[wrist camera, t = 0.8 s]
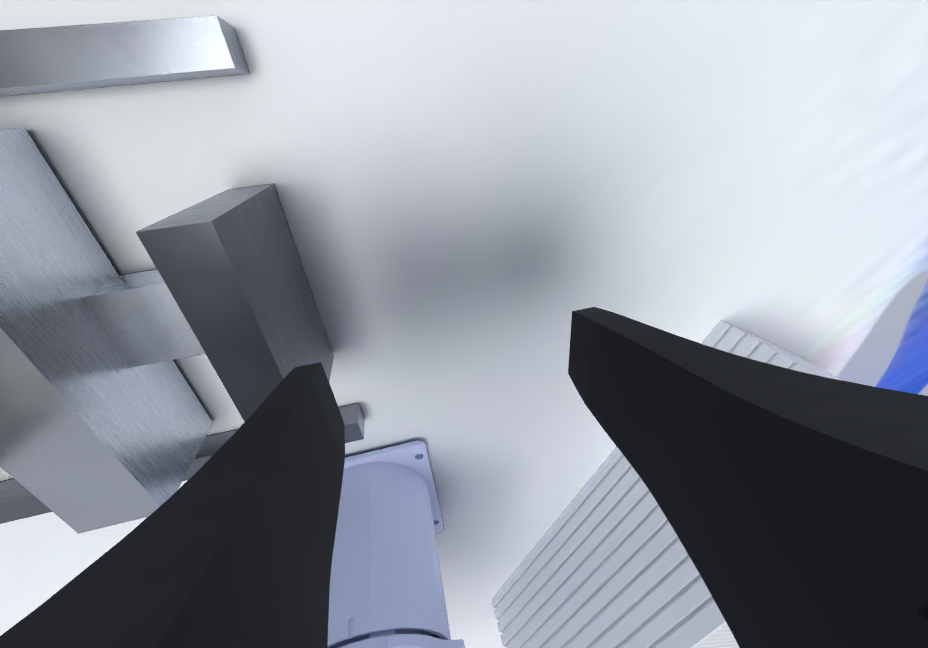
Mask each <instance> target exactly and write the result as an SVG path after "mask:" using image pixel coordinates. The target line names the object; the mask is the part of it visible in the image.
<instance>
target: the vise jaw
mask: <svg viewBox="0 0 928 648" xmlns="http://www.w3.org/2000/svg"><path fill="white" fill-rule="evenodd" d="M136 233H137V235H138V237H139V238H140V240H141V242H142V244H143V245H144V247H145V249H146V250H147V252H148V254H149V256H150V257H151V259H152V261H153V263H154V264H155V266H156V268H157V270H151V271H145V272H138V273H132V274H125V275H118V273H117V272H116V270H115V269H114V267H113V266H112V264H111V262H110V261H109V259H108V258H107V256H106V255H105V253H104V251H103V250H102V248H101V247H100V245H99V244H98V242H97V240H96V239H95V237H94V236H93V234H92V233H91V231H90V230H89V228H88V226H87V225H86V223H85V222H84V220H83V219H82V217H81V215H80V214H79V212H78V211H77V209H76V208H75V206H74V204H73V203H72V201H71V200H70V198H69V197H68V195H67V193H66V192H65V190H64V189H63V187H62V186H61V184H60V183H59V181H58V179H57V178H56V176H55V175H54V173H53V172H52V170H51V168H50V167H49V165H48V164H47V162H46V161H45V159H44V157H43V156H42V154H41V153H40V151H39V150H38V148H37V146H36V145H35V143H34V142H33V140H32V139H31V137H30V136H29V134H28V132H27V131H26V129H0V467H2V468H3V469H4V470H5V471H6V472H7V473H9V474H10V475H11V476H12V477H13V478H14V479H15V480H17V481H18V482H19V483H20V484H21V485H22V486H24V487H25V488H26V489H27V490H28V491H29V492H31V493H32V494H33V495H34V496H35V497H36V498H38V499H39V500H40V501H41V502H42V503H43V504H45V505H46V506H47V507H48V508H49V509H50V510H52V511H53V512H54V513H55V514H56V515H57V516H59V517H60V518H61V519H62V520H63V521H64V522H66V523H67V524H68V525H69V526H70V527H71V528H73V529H74V530H75V531H76V532H77V533H78V534H79V533H83V532H87V531H91V530H95V529H99V528H103V527H107V526H111V525H116V524H120V523H124V522H128V521H132V520H136V519H140V518H144V517H148V516H150V515H151V514H152V513H153V512H154V511H155V510H156V509H158V508H159V507H160V506H161V505H162V504H163V503H164V502H165V501H167V500H168V499H169V498H170V497H171V496H172V495H173V494H174V493H175V492H176V491H177V490H178V488H179V486H180V484H181V482H182V480H183V479H184V477H185V475H186V473H187V471H188V469H189V467H190V466H191V464H192V462H193V460H194V458H195V456H196V454H197V452H198V451H199V449H200V447H201V445H202V443H203V441H204V439H205V438H206V436H207V434H208V432H209V430H210V428H211V426H212V424H213V422H212V421H211V419H210V417H209V416H208V414H207V413H206V411H205V410H204V408H203V406H202V405H201V403H200V402H199V400H198V399H197V397H196V396H195V394H194V392H193V391H192V389H191V388H190V386H189V385H188V383H187V381H186V380H185V378H184V377H183V375H182V374H181V372H180V370H179V369H178V367H177V366H176V364H175V363H174V361H173V360H175V359H180V358H185V357H190V356H196V355H201V354H206V355H207V357H208V359H209V360H210V362H211V364H212V366H213V367H214V369H215V371H216V373H217V374H218V376H219V378H220V379H221V381H222V383H223V385H224V386H225V388H226V390H227V392H228V393H229V395H230V397H231V399H232V400H233V402H234V404H235V406H236V407H237V409H238V411H239V413H240V414H241V416H242V418H243V420H244V421H246V420H247V419H248V418H249V417H250V416H251V415H252V414H253V413H254V411H255V410H256V409H257V408H258V407H259V406H260V405H261V404H262V403H263V401H264V400H265V399H266V398H267V397H268V396H269V395H270V394H271V392H272V391H273V390H274V389H275V388H276V387H277V386H278V384H279V383H280V382H281V381H282V380H283V379H284V378H285V377H286V376H287V375H288V373H289V372H290V371H291V370H292V369H293V368H294V367H299V366H304V365H309V364H313V363H318V362H321V363H322V365H323V368H324V371H325V373H326V376H327V379H328V381H329V380H330V374H331V368H332V362H333V357H334V356H333V353H332V350H331V347H330V344H329V341H328V338H327V336H326V333H325V330H324V327H323V324H322V321H321V318H320V316H319V313H318V310H317V307H316V304H315V301H314V298H313V296H312V293H311V290H310V287H309V284H308V281H307V278H306V276H305V273H304V270H303V267H302V264H301V261H300V258H299V256H298V253H297V250H296V247H295V244H294V241H293V238H292V236H291V233H290V230H289V227H288V224H287V221H286V218H285V216H284V213H283V210H282V207H281V204H280V201H279V198H278V196H277V193H276V190H275V187H274V184H267V185H260V186H252V187H245V188H237V189H229V190H226V191H224V192H222V193H220V194H218V195H215V196H213V197H211V198H209V199H207V200H205V201H202V202H200V203H198V204H196V205H194V206H191V207H189V208H187V209H185V210H183V211H181V212H178V213H176V214H174V215H172V216H170V217H167V218H165V219H163V220H161V221H159V222H157V223H154V224H152V225H150V226H148V227H146V228H143V229H141V230H139V231H137V232H136Z"/></svg>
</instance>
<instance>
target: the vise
mask: <svg viewBox="0 0 928 648" xmlns="http://www.w3.org/2000/svg"><path fill="white" fill-rule="evenodd" d="M241 74H250V73H249V70H248V67H247V64H246V61H245V58H244V55H243V52H242V49H241V46H240V43H239V40H238V37H237V34H236V31H235V28H234V27H232V26H231V25H229V24H228V23H227V22H225V21H224V20H222V19H221V18H219V17H218V16H205V17H190V18H176V19H161V20H147V21H132V22H118V23H104V24H89V25H75V26H60V27H46V28H31V29H17V30H2V31H0V96H10V95H21V94H32V93H43V92H54V91H65V90H76V89H87V88H98V87H109V86H120V85H131V84H142V83H153V82H164V81H175V80H186V79H197V78H208V77H219V76H230V75H241ZM338 408H339V411H340V413H341V416H342V419H343V421H344V424H345V443H348V442H352V441H357V440H361V439H364V416H363V413H362V410H361V407H360V404H359V403H356V404H352V405H347V406H342V407H338ZM236 431H237V430H233V431H229V432H224V433H219V434H215V435H210V436H206V438H205V439H204V441H203V443H202V445H201V447H200V449H199V451H198V452H197V454H196V456H195V458H194V460H193V462H192V464H191V466H190V467H189V469H188V471H187V473H186V475H185V477H184V479H183V480H182V481H185V480H189V479H190V478H191V477H192V476H193V475H194V474H195V473H196V472H197V471H198V470H199V469H200V468H201V467H202V466H203V465H204V464H205V463H206V462H207V461H208V460H209V459H210V458H211V457H212V456H213V455H214V454H215V453H216V452H217V451H218V450H219V449H220V448H221V447H222V446H223V445H224V444H225V443H226V442H227V441H228V440H229V438H230V437H231V436H232V435H233V434H234V433H235V432H236ZM48 512H53V511H52V510H50V509H49V508H48V507H47V506H46V505H45V504H43V503H42V502H41V501H40V500H39V499H38V498H36V497H35V496H34V495H33V494H32V493H31V492H29V491H28V490H27V489H26V488H25V487H24V486H22V485H21V484H20V483H19V482H18V481H17V480H15V479H10V480H5V481H1V482H0V524H1V523H5V522H10V521H14V520H18V519H23V518H27V517H31V516H35V515H40V514H44V513H48Z"/></svg>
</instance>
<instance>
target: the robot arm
mask: <svg viewBox="0 0 928 648" xmlns="http://www.w3.org/2000/svg"><path fill="white" fill-rule="evenodd" d="M568 374H569V376H570V378H571V379H572V381H573V383H574V385H575V387H576V389H577V391H578V392H579V394H580V396H581V398H582V399H583V401H584V403H585V404H586V406H587V407H588V409H589V410H590V411H591V413H592V414H593V415H594V417H595V418H596V419H597V421H598V422H599V423H600V425H601V426H602V428H603V429H604V430H605V431H606V433H607V434H608V435H609V437H610V438H611V439H612V441H613V442H614V443H615V445H616V446H617V447H618V449H619V450H620V451H621V453H622V454H623V455H624V457H625V458H626V459H627V461H628V462H629V463H630V464H631V466H632V467H633V468H634V470H635V471H636V472H637V474H638V475H639V476H640V478H641V479H642V481H643V482H644V484H645V485H646V486H647V488H648V489H649V491H650V492H651V494H652V495H653V497H654V499H655V500H656V502H657V503H658V505H659V507H660V508H661V510H662V512H663V513H664V515H665V516H666V518H667V520H668V521H669V523H670V525H671V526H672V528H673V529H674V531H675V533H676V534H677V536H678V538H679V540H680V541H681V543H682V545H683V546H684V548H685V550H686V552H687V553H688V555H689V557H690V558H691V560H692V562H693V564H694V565H695V567H696V569H697V570H698V572H699V574H700V576H701V577H702V579H703V581H704V583H705V585H706V586H707V588H708V590H709V592H710V594H711V596H712V597H713V599H714V601H715V603H716V605H717V607H718V608H719V610H720V612H721V614H722V616H723V617H724V619H725V621H726V623H727V625H728V627H729V628H730V630H731V632H732V634H733V636H734V638H735V640H736V642H737V644H738V646H739V648H928V396H924V395H918V394H912V393H906V392H900V391H894V390H889V389H883V388H877V387H872V386H867V385H862V384H857V383H852V382H846V381H842V380H837V379H832V378H827V377H822V376H818V375H813V374H809V373H804V372H800V371H796V370H792V369H788V368H784V367H780V366H776V365H772V364H768V363H764V362H760V361H756V360H753V359H749V358H746V357H742V356H738V355H735V354H732V353H729V352H725V351H722V350H719V349H716V348H713V347H710V346H706V345H703V344H700V343H697V342H694V341H691V340H688V339H685V338H682V337H680V336H677V335H674V334H671V333H668V332H665V331H663V330H660V329H657V328H654V327H652V326H649V325H646V324H643V323H641V322H638V321H635V320H633V319H630V318H627V317H624V316H621V315H619V314H616V313H613V312H610V311H607V310H603V309H600V308H596V307H592V308H587V309H582V310H577V311H572V323H571V338H570V353H569V369H568ZM417 454H418V455H417ZM443 530H444V526H443V521H442V516H441V512H440V507H439V503H438V499H437V494H436V490H435V485H434V481H433V476H432V472H431V467H430V463H429V458H428V454H427V449H426V445H425V443H424V442H423V441H413V442H409V443H405V444H401V445H397V446H392V447H388V448H384V449H380V450H376V451H372V452H367V453H363V454H359V455H355V456H351V457H346V458H345V424H344V421H343V419H342V416H341V413H340V411H339V408H338V405H337V403H336V400H335V397H334V395H333V392H332V389H331V387H330V384H329V381H328V379H327V376H326V373H325V371H324V368H323V365H322V363H321V362H318V363H313V364H309V365H304V366H299V367H294V368H293V369H292V370H291V371H290V372H289V373H288V375H287V376H286V377H285V378H284V379H283V380H282V381H281V382H280V383H279V384H278V386H277V387H276V388H275V389H274V390H273V391H272V392H271V394H270V395H269V396H268V397H267V398H266V399H265V400H264V401H263V403H262V404H261V405H260V406H259V407H258V408H257V409H256V410H255V411H254V413H253V414H252V415H251V416H250V417H249V418H248V419H247V420H246V421H245V422H244V424H243V425H242V426H241V427H240V428H239V429H238V430H237V431H236V432H235V433H234V434H233V435H232V436H231V437H230V438H229V440H228V441H227V442H226V443H225V444H224V445H223V446H222V447H221V448H220V449H219V450H218V451H217V452H216V453H215V454H214V455H213V456H212V457H211V458H210V459H209V460H208V461H207V462H206V463H205V464H204V465H203V466H202V467H201V468H200V469H199V470H198V471H197V472H196V473H195V474H194V475H193V476H192V477H191V478H190V479H189V480H188V481H187V482H186V483H185V484H184V485H183V486H182V487H181V488H180V489H178V490H177V491H176V492H175V493H174V494H173V495H172V496H171V497H170V498H169V499H168V500H167V501H165V502H164V503H163V504H162V505H161V506H160V507H159V508H158V509H156V510H155V511H154V512H153V513H152V514H151V515H150V516H149V517H147V518H146V519H145V520H144V521H143V522H142V523H141V524H140V525H138V526H137V527H136V528H135V529H134V530H133V531H132V532H130V533H129V534H128V535H127V536H126V537H125V538H123V539H122V540H121V541H120V542H119V543H117V544H116V545H115V546H114V547H112V548H111V549H110V550H109V551H108V552H106V553H105V554H104V555H103V556H101V557H100V558H99V559H98V560H96V561H95V562H94V563H93V564H91V565H90V566H89V567H88V568H86V569H85V570H84V571H83V572H82V573H80V574H79V575H78V576H77V577H75V578H74V579H73V580H72V581H70V582H69V583H68V584H67V585H65V586H64V587H63V588H62V589H60V590H59V591H58V592H57V593H56V594H54V595H53V596H52V597H51V598H49V599H48V600H47V601H46V602H44V603H43V604H42V605H41V606H39V607H38V608H37V609H35V610H34V611H33V612H32V613H30V614H29V615H28V616H26V617H25V618H24V619H22V620H21V621H20V622H18V623H17V624H16V625H14V626H13V627H12V628H10V629H9V630H8V631H7V632H5V633H4V634H3V635H1V636H0V648H465V646H464V641H463V640H462V639H459V640H451V638H450V631H449V624H448V618H447V611H446V604H445V597H444V591H443V584H442V577H441V570H440V564H439V557H438V550H437V543H436V537H435V535H436V534H439V533H441V532H442V531H443Z"/></svg>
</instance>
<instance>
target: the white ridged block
mask: <svg viewBox="0 0 928 648" xmlns="http://www.w3.org/2000/svg"><path fill="white" fill-rule="evenodd" d="M701 344H703V345H706V346H710V347H713V348H716V349H719V350H722V351H725V352H729V353H732V354H735V355H738V356H742V357H746V358H749V359H753V360H756V361H760V362H764V363H768V364H772V365H776V366H780V367H784V368H788V369H792V370H796V371H800V372H804V373H809V374H813V375H818V376H822V377H827V378H832V379H837V380H841V379H840V378H838V377H836V376H834V375H832V374H830V373H829V372H827V371H825V370H823V369H821V368H819V367H817V366H816V365H814V364H812V363H810V362H809V361H807V360H805V359H802V358H800V357H798V356H796V355H794V354H792V353H790V352H788V351H786V350H783V349H781V348H779V347H777V346H775V345H773V344H771V343H769V342H766V341H764V340H762V339H760V338H758V337H756V336H754V335H752V334H750V333H747V332H745V331H743V330H741V329H739V328H737V327H735V326H733V325H731V324H728V323H726V322H724V321H722V320H720V321H719V323H718V324H717V325H716V326H715V327H714V329H713V330H712V331H711V332H710V334H709V335H708V336H707V337H706V338H705V340H704V341H703V342H702V343H701ZM842 381H843V380H842ZM492 603H493V607H496V609H495V610H494V611H495V615H496V619H499V622H498V628H499V632H502V635H501V640H502V644H503V646H506V648H739V646H738V644H737V642H736V640H735V638H734V636H733V634H732V632H731V630H730V628H729V627H728V625H727V623H726V621H725V619H724V617H723V616H722V614H721V612H720V610H719V608H718V607H717V605H716V603H715V601H714V599H713V597H712V596H711V594H710V592H709V590H708V588H707V586H706V585H705V583H704V581H703V579H702V577H701V576H700V574H699V572H698V570H697V569H696V567H695V565H694V564H693V562H692V560H691V558H690V557H689V555H688V553H687V552H686V550H685V548H684V546H683V545H682V543H681V541H680V540H679V538H678V536H677V534H676V533H675V531H674V529H673V528H672V526H671V525H670V523H669V521H668V520H667V518H666V516H665V515H664V513H663V512H662V510H661V508H660V507H659V505H658V503H657V502H656V500H655V499H654V497H653V495H652V494H651V492H650V491H649V489H648V488H647V486H646V485H645V484H644V482H643V481H642V479H641V478H640V476H639V475H638V474H637V472H636V471H635V470H634V468H633V467H632V466H631V464H630V463H629V462H628V461H627V459H626V458H625V457H624V455H623V454H622V453H621V451H620V450H619V449H618V447H616V448H615V449H614V451H613V452H612V453H611V454H610V455H609V457H608V458H607V459H606V460H605V462H604V463H603V464H602V465H601V466H600V468H599V469H598V470H597V471H596V473H595V474H594V475H593V476H592V477H591V479H590V480H589V481H588V482H587V483H586V485H585V486H584V487H583V488H582V490H581V491H580V492H579V493H578V494H577V496H576V497H575V498H574V499H573V501H572V502H571V503H570V504H569V505H568V507H567V508H566V509H565V510H564V512H563V513H562V514H561V515H560V516H559V518H558V519H557V520H556V521H555V522H554V524H553V525H552V526H551V527H550V529H549V530H548V531H547V532H546V533H545V535H544V536H543V537H542V538H541V540H540V541H539V542H538V543H537V544H536V546H535V547H534V548H533V549H532V551H531V552H530V553H529V554H528V555H527V557H526V558H525V559H524V560H523V561H522V563H521V564H520V565H519V566H518V568H517V569H516V570H515V571H514V572H513V574H512V575H511V576H510V577H509V579H508V580H507V581H506V582H505V583H504V585H503V586H502V587H501V588H500V590H499V591H498V592H497V593H496V594H495V596H494V597H493V598H492Z"/></svg>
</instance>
